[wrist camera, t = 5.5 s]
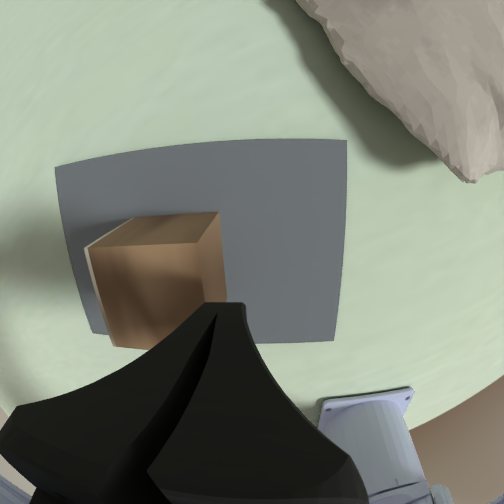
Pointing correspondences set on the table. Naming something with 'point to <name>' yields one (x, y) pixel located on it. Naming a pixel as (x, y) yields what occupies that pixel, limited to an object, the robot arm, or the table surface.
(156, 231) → the cube
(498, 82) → the rock
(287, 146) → the mat
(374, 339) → the table surface
